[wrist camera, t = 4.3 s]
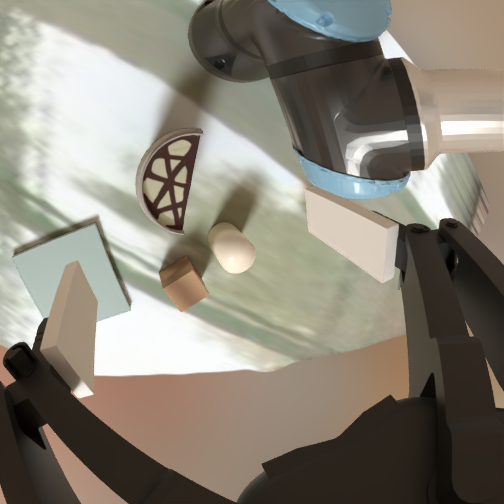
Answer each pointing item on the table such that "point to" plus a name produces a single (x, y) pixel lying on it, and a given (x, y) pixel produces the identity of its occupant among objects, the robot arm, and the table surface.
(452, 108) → the robot arm
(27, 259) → the teal board
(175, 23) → the table surface
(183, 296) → the walnut block
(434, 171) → the table surface
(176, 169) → the food container
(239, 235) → the cream cylinder
